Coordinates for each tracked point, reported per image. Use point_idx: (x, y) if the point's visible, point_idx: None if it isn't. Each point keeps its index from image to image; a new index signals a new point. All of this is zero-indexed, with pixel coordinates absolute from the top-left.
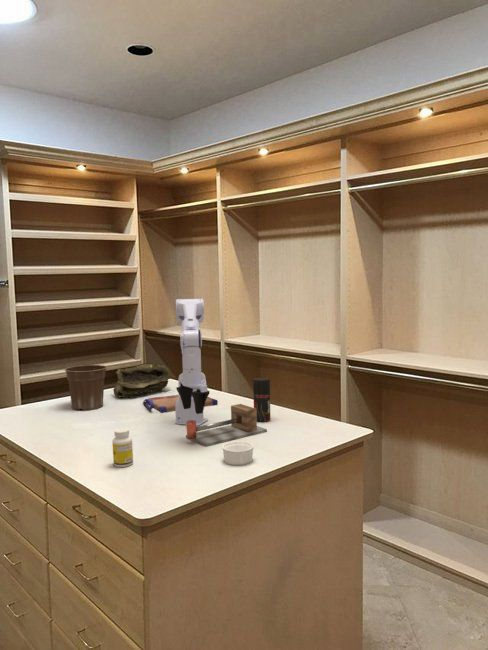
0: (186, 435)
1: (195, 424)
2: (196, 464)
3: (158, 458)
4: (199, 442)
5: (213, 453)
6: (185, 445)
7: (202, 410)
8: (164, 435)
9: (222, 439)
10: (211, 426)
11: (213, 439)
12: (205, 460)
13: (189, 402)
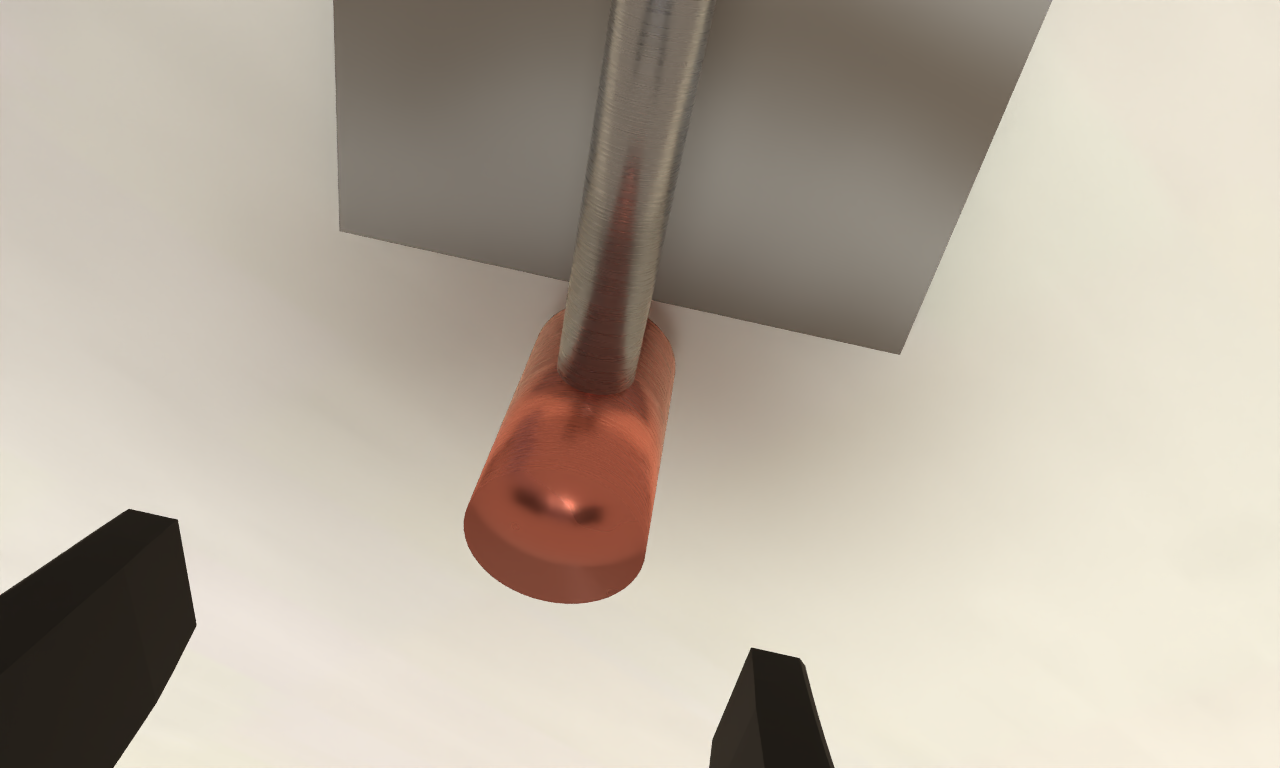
0: (360, 235)
1: (647, 497)
2: (1160, 714)
3: None
4: (734, 310)
5: (1159, 452)
6: None
7: (809, 730)
8: (90, 310)
9: (1007, 26)
10: (699, 74)
11: (857, 128)
12: (1191, 625)
13: (70, 658)
